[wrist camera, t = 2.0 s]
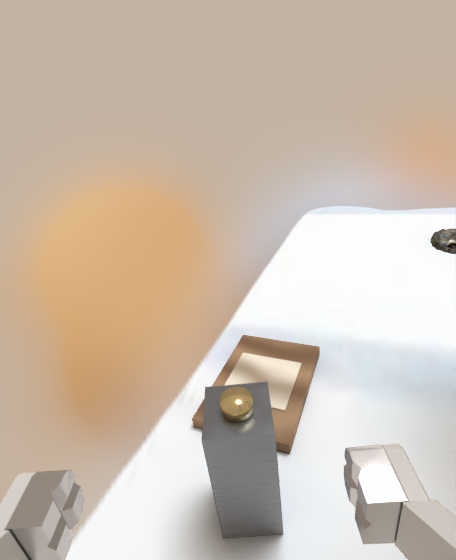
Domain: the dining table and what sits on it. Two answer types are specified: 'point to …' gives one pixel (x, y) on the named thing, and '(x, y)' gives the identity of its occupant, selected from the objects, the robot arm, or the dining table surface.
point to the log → (445, 240)
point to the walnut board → (272, 380)
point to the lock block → (242, 459)
